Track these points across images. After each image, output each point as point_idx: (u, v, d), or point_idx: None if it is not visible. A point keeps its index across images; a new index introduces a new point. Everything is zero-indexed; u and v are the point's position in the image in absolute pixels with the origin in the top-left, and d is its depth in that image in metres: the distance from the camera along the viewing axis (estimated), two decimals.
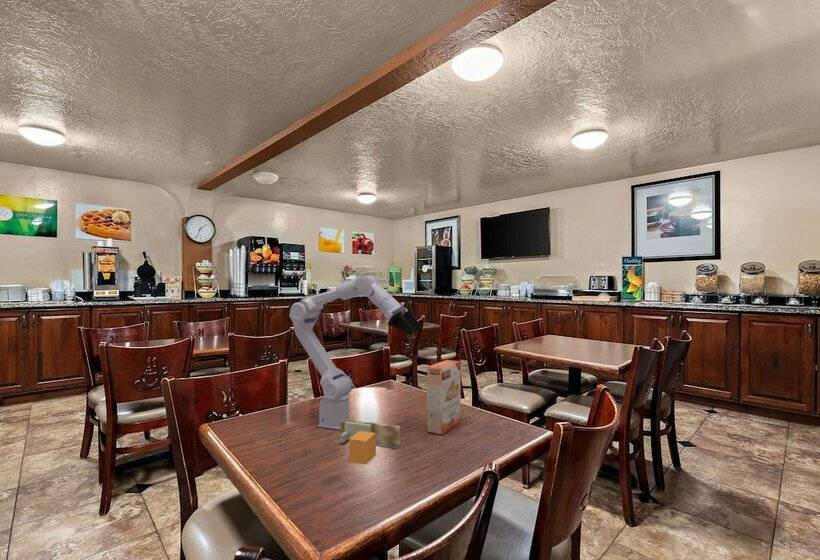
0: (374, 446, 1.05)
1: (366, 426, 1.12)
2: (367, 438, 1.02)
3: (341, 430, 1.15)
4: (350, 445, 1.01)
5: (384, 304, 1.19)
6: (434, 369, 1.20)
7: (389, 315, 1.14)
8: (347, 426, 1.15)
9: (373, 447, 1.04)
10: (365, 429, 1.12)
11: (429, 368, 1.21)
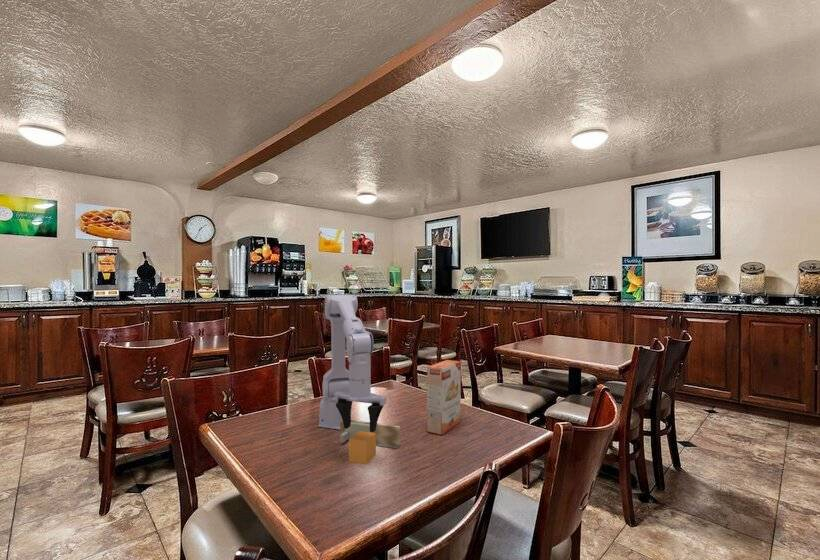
0: (374, 446, 1.05)
1: (366, 426, 1.12)
2: (367, 438, 1.02)
3: (341, 430, 1.15)
4: (350, 445, 1.01)
5: None
6: (434, 369, 1.20)
7: None
8: None
9: (373, 447, 1.04)
10: (365, 429, 1.12)
11: (429, 368, 1.21)
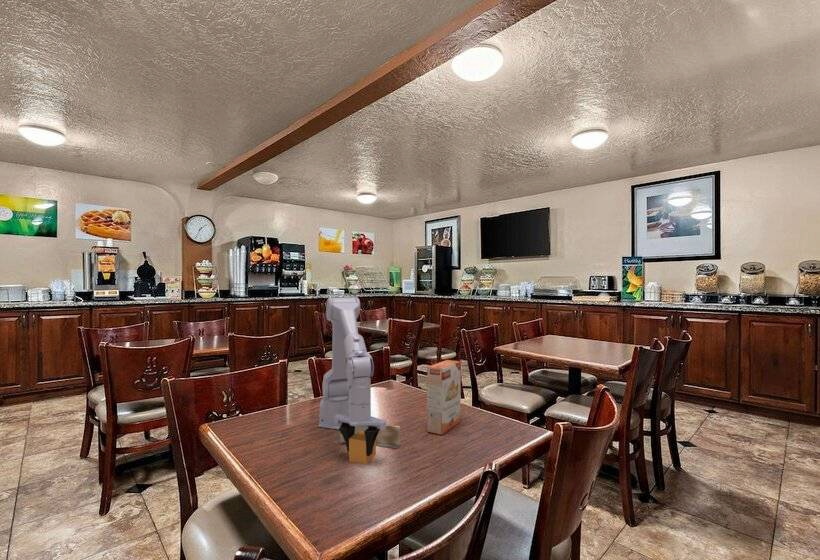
0: (374, 446, 1.05)
1: None
2: None
3: None
4: (350, 445, 1.01)
5: None
6: (434, 369, 1.20)
7: None
8: None
9: (373, 447, 1.04)
10: (365, 429, 1.12)
11: (429, 368, 1.21)
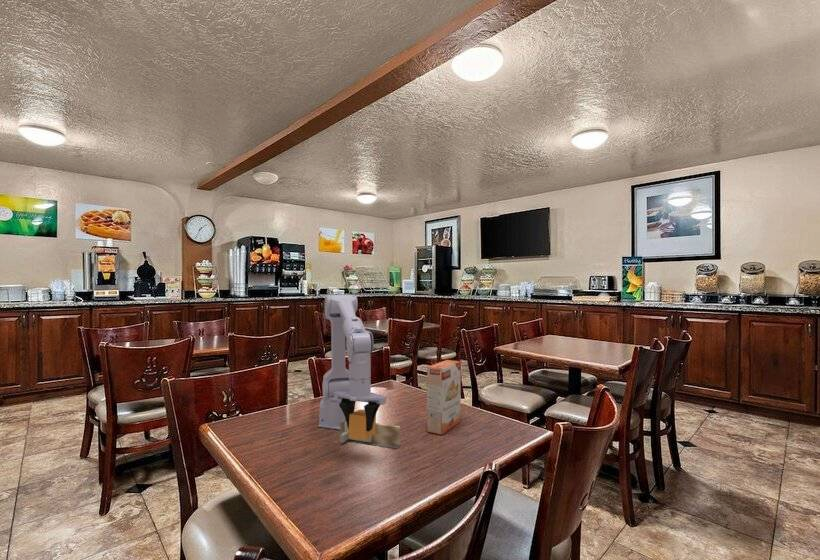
0: (374, 424, 1.05)
1: None
2: None
3: (341, 430, 1.15)
4: (350, 420, 1.02)
5: None
6: (434, 369, 1.20)
7: None
8: (347, 426, 1.15)
9: (373, 425, 1.04)
10: None
11: (429, 368, 1.21)
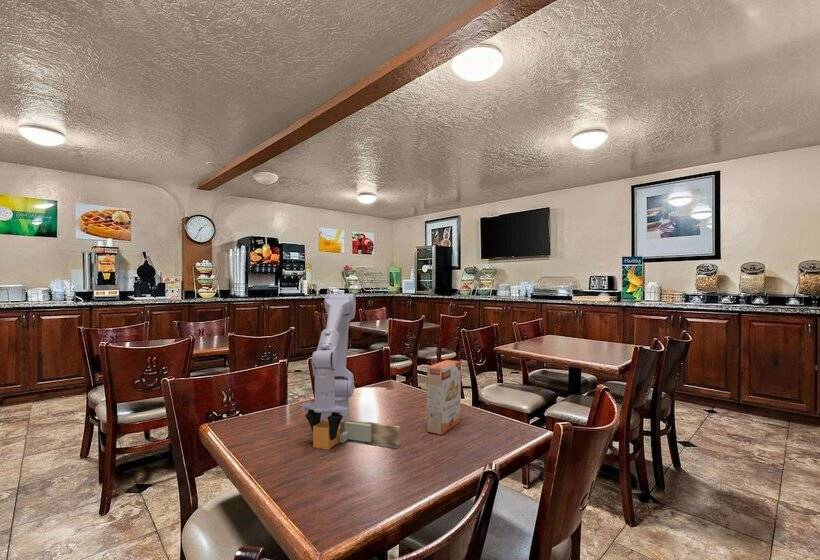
0: (337, 433, 1.14)
1: (366, 426, 1.12)
2: None
3: (341, 430, 1.15)
4: (314, 432, 1.10)
5: None
6: (434, 369, 1.20)
7: None
8: (347, 426, 1.15)
9: (336, 434, 1.13)
10: (365, 429, 1.12)
11: (429, 368, 1.21)
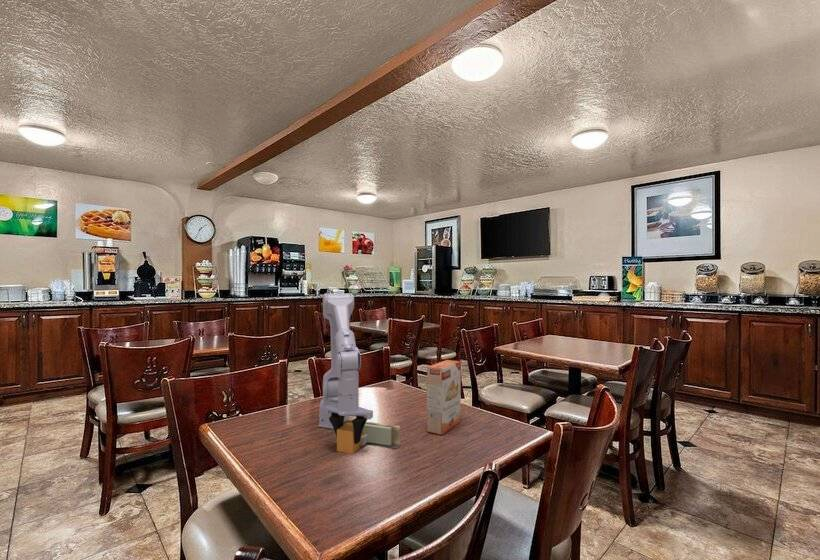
0: None
1: (386, 429, 1.10)
2: None
3: None
4: (338, 435, 1.08)
5: None
6: (434, 369, 1.20)
7: None
8: (366, 429, 1.12)
9: None
10: (385, 432, 1.10)
11: (429, 368, 1.21)
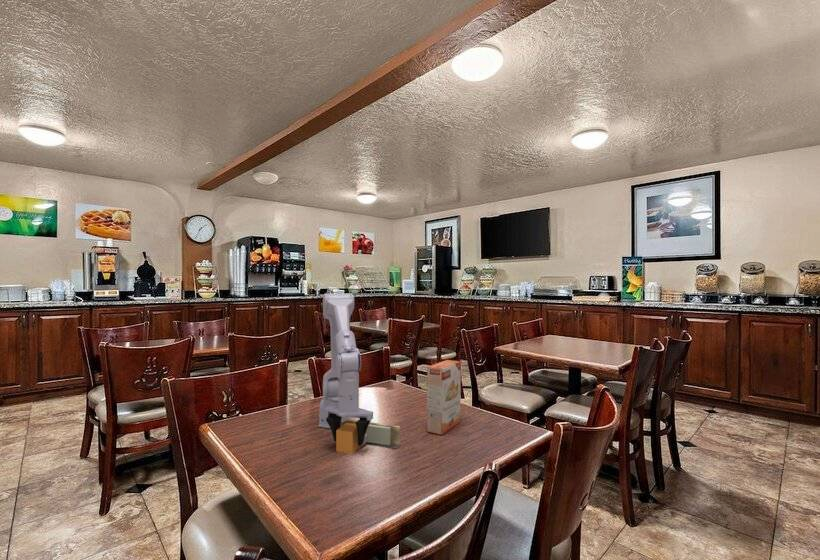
0: None
1: (385, 429, 1.10)
2: (353, 429, 1.08)
3: None
4: (337, 436, 1.07)
5: None
6: (434, 369, 1.20)
7: None
8: None
9: None
10: (384, 432, 1.10)
11: (429, 368, 1.21)
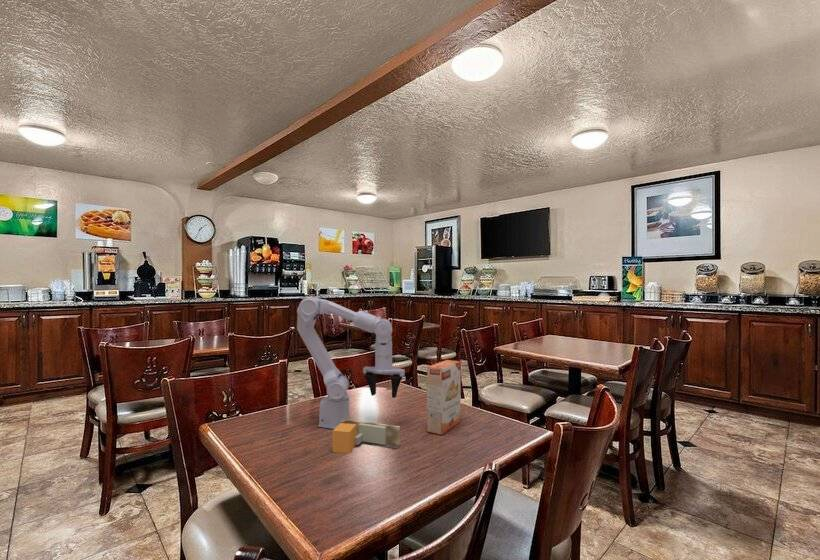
0: (355, 436, 1.11)
1: (381, 428, 1.11)
2: (350, 429, 1.08)
3: None
4: (334, 436, 1.07)
5: None
6: (434, 369, 1.20)
7: None
8: (361, 428, 1.13)
9: (354, 438, 1.11)
10: (380, 431, 1.11)
11: (429, 368, 1.21)
